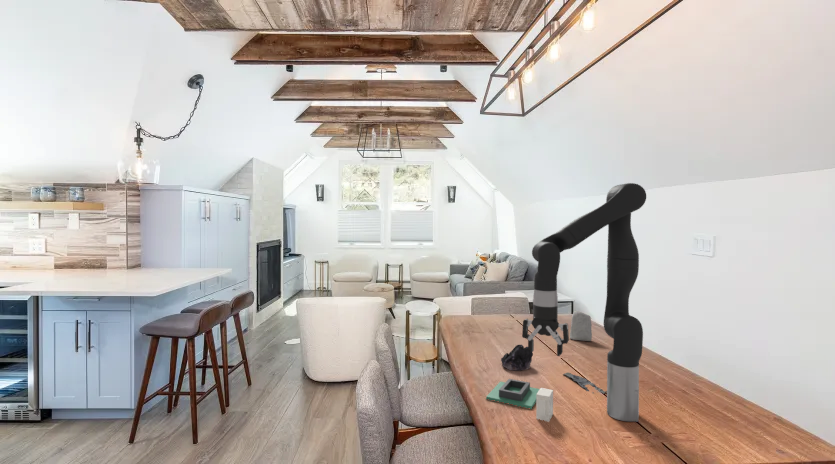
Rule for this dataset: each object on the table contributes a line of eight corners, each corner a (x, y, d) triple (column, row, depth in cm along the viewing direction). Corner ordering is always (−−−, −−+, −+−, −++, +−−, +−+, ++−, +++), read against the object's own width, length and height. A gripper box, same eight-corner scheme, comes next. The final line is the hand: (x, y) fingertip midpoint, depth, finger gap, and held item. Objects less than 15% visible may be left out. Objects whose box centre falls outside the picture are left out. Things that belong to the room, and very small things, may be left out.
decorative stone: (592, 340, 219) (592, 312, 219) (590, 342, 214) (590, 314, 214) (571, 337, 225) (571, 309, 224) (568, 339, 220) (569, 312, 219)
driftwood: (560, 375, 170) (560, 370, 170) (576, 374, 171) (576, 369, 171) (591, 397, 149) (591, 391, 149) (608, 395, 151) (608, 389, 151)
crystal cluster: (496, 369, 177) (497, 348, 176) (504, 358, 189) (506, 337, 188) (527, 377, 171) (528, 354, 170) (534, 364, 183) (535, 343, 182)
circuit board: (542, 392, 152) (542, 382, 152) (531, 409, 138) (531, 399, 138) (500, 383, 160) (500, 375, 160) (486, 399, 146) (486, 389, 146)
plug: (552, 414, 135) (553, 390, 134) (548, 423, 128) (548, 397, 128) (540, 411, 137) (540, 387, 136) (535, 420, 130) (535, 395, 130)
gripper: (570, 303, 132) (570, 353, 132) (526, 299, 139) (525, 347, 139) (566, 307, 125) (566, 360, 126) (520, 303, 132) (520, 353, 133)
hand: (545, 353), depth 132 cm, fingers open, 8 cm apart
